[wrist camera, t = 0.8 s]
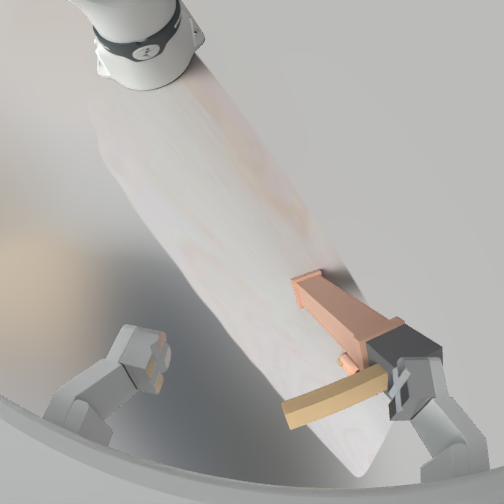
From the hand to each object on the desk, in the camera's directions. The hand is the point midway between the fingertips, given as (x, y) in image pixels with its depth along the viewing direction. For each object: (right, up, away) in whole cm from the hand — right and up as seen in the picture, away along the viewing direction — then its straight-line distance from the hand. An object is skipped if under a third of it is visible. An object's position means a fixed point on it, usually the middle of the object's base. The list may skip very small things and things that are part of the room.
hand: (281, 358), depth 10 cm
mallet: (+8, -7, +17) cm, 20 cm away
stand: (+8, -2, +43) cm, 44 cm away
